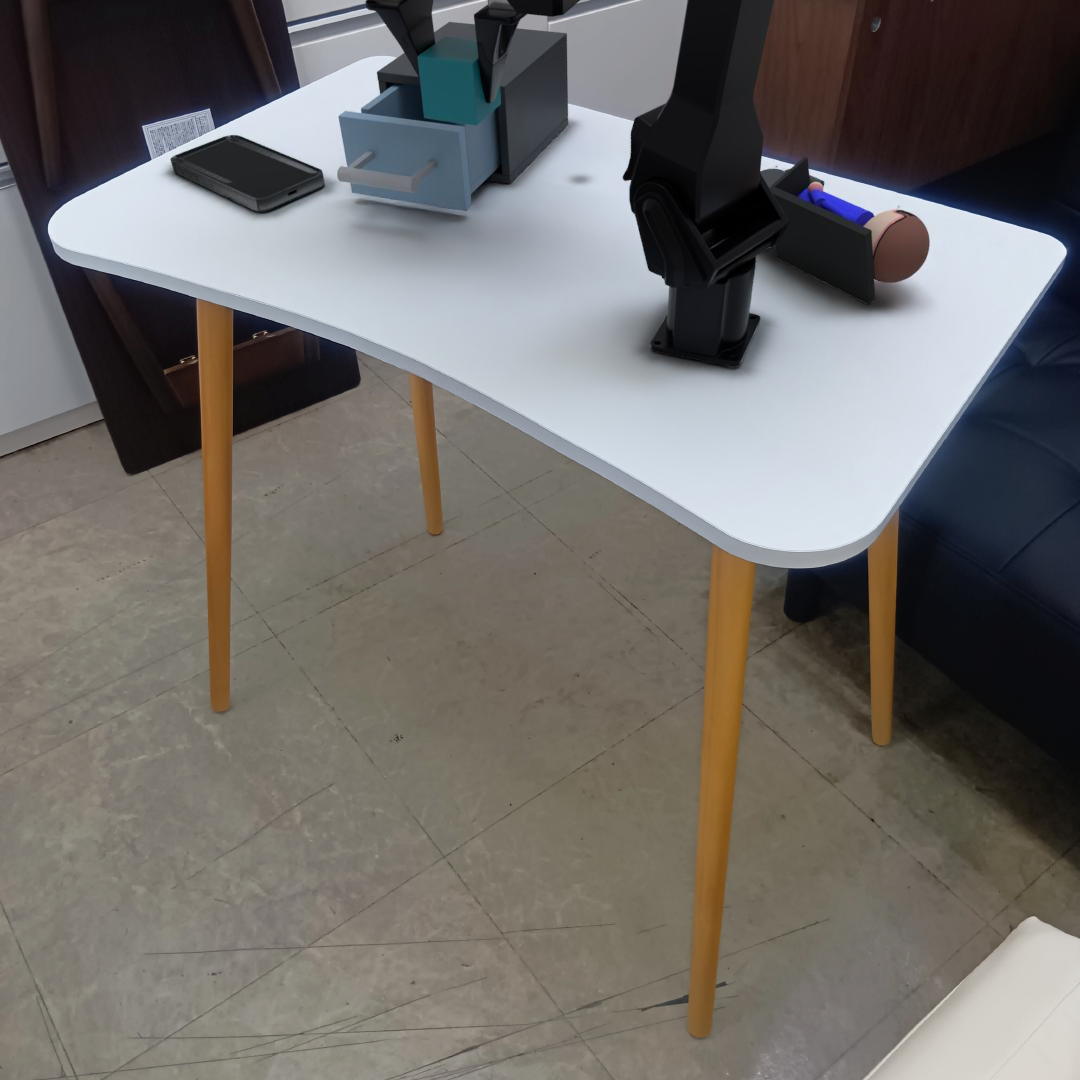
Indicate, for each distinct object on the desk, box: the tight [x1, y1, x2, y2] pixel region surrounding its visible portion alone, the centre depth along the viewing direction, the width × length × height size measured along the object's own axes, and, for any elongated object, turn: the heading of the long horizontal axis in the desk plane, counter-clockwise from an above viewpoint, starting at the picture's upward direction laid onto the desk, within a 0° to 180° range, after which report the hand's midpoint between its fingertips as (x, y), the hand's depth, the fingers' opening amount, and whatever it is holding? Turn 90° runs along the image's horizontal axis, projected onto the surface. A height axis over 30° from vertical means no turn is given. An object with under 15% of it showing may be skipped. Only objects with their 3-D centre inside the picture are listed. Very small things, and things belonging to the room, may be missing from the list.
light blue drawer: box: [336, 83, 501, 212], centre depth 86 cm, size 18×11×7 cm, turn 157°
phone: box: [170, 134, 325, 212], centre depth 91 cm, size 8×1×15 cm
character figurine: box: [760, 156, 931, 306], centre depth 73 cm, size 8×7×15 cm
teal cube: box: [418, 37, 501, 126], centre depth 73 cm, size 4×4×4 cm
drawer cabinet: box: [376, 21, 569, 185], centre depth 93 cm, size 15×13×9 cm
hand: (462, 97), depth 74 cm, fingers closed on teal cube, 4 cm apart
